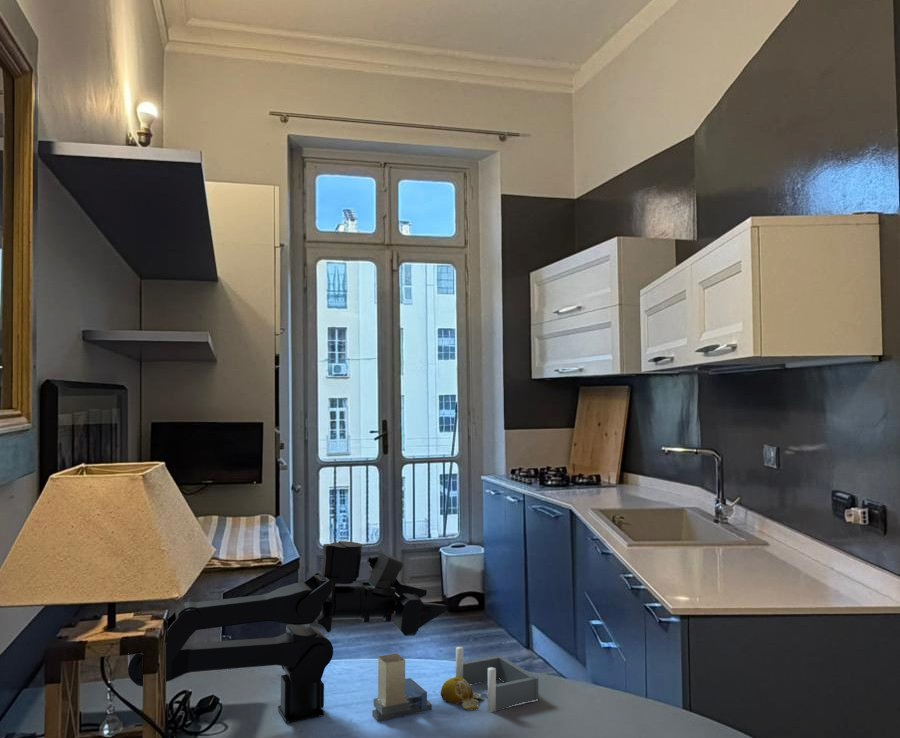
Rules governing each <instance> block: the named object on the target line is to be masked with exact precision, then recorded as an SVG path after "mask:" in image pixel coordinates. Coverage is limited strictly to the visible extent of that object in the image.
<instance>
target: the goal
mask: <svg viewBox="0 0 900 738" xmlns="http://www.w3.org/2000/svg"><path fill="white" fill-rule="evenodd" d="M455 677H463V678H464V680H466V681H467V682H468V683H469V684H472V685H476V684H475V683H477V684H480V683H479V682H482V683H485V682H484V681H487V694H488V695H487V697H488V698H487V711H488V712H489V711H490V712H489V713H494V712H493V711H495V712H497V711H496V710H498V711H501V710H500V709H502V710H504V709H503V708H506V707H509V706H512V705H515V704H519V703H522V702H528V701H532V700H536V699H539V697H540V696H539V677H537V676H535V675H534V674H532V673H530V672H529V671H527V670H525V669H524V668H522V667H521V666H519V665H517V664H516V663H514V662H513V661H511V660H510V659H507V658H506V657H504V656H502V655H495V656H490V657H486V658H480V659H474V660H468V661H464V646H456V647H455ZM498 678H500V679H501V680H503V681H504V682H505V683H504V682H503V681H502V682H501V683H497V680H500V679H498ZM496 679H497V680H496ZM501 680H500V681H501Z"/></svg>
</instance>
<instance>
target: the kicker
mask: <svg viewBox="0 0 900 738" xmlns="http://www.w3.org/2000/svg"><path fill="white" fill-rule="evenodd" d="M377 658H378V659H377V662H378V664H377V665H378V666H377V667H378V669H377V670H378V673H377V674H378V676H377V678H378V679H377V680H378V682H377V685H378V686H377V687H378V689H377V692H378V693H377V697H376V698H373V707H374V708H375V710H376V709H377V710H378V711H379V712H380V713H381V714H382V715H385V714H390V713H394V712H399V711H404V710H409V709H410V704H413V703H414V704H415V705H416V706H417V707H419V708H420V709H421V710H425V709H427V700H428V691H426V690H425V689H424V688H423V687H422V686H421V685H420V684H418V683H417V682H416V681H414V680H413V678H411V677H409V678H406V659H405V658H403V657H402V656H401V655H400V654H398V653H392V654H386V655H381V656H378V657H377Z"/></svg>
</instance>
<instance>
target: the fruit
mask: <svg viewBox="0 0 900 738" xmlns="http://www.w3.org/2000/svg"><path fill="white" fill-rule="evenodd" d="M440 697H441V699H442V701H445V703H449V704H450V705H455V706H457V705H458V704H460V703H462V704H461V706H462V709H464V710H466V711H468V710H470V711H477V710H479V709H480V707H479V706H480V702H479V700H477V699H480V700H483V701H485V700H484V699H485V698H482V696H480V697H479V695H478V692H474V690H473V687H472V685H470V684H469V683H468V682H467V681H466V680H464V678H463V677H456V676H455V677H452V678H449V679H446V681H445V682H444V683H443V684H442V687H441V690H440ZM477 705H479V706H477ZM478 707H479V708H478ZM476 709H477V710H476Z"/></svg>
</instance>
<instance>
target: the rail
mask: <svg viewBox="0 0 900 738" xmlns="http://www.w3.org/2000/svg"><path fill="white" fill-rule="evenodd" d="M432 704H433V703H431V702H430V701H429V700H428V699H427V709H425V710H421V709H420V708H419V707H417V706H416V705H415V704H414V703H413V704H410V709H409V710H404V711H399V712H394V713H390V714H385V715H382V714H381V713H380V712H379V711H378V710H377V709H376V708H375V709H372V717H373V719H374V720H375V721H376V723H377V722H383V721H388V720H392V719H398V718H402V717H405V716H411V715H416V714H419V713H420V714H421V713H424V712H428V711H429V712H430V711H432V710H433V705H432Z"/></svg>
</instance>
